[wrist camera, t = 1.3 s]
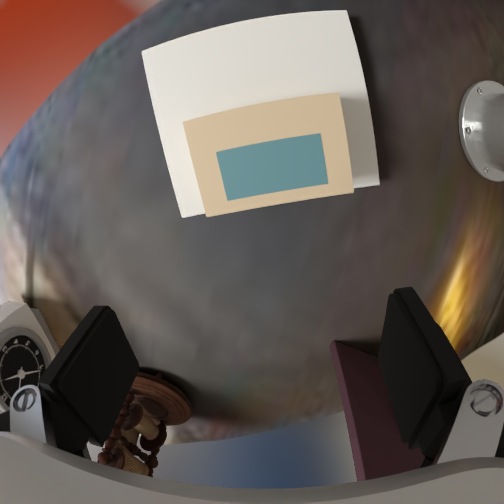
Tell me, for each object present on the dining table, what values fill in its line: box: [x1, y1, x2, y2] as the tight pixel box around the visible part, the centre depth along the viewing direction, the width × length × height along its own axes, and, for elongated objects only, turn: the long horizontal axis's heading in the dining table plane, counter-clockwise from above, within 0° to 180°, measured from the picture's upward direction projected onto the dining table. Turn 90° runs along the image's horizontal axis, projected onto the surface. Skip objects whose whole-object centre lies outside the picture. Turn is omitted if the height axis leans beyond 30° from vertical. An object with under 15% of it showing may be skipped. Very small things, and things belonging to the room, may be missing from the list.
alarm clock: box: [0, 301, 60, 414], centre depth 33 cm, size 18×8×20 cm, turn 4°
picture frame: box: [330, 341, 424, 482], centre depth 26 cm, size 17×10×25 cm, turn 63°
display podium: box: [142, 10, 380, 218], centre depth 25 cm, size 20×18×2 cm
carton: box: [183, 92, 354, 217], centre depth 23 cm, size 12×8×5 cm, turn 102°
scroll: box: [97, 372, 192, 477], centre depth 37 cm, size 15×15×20 cm
